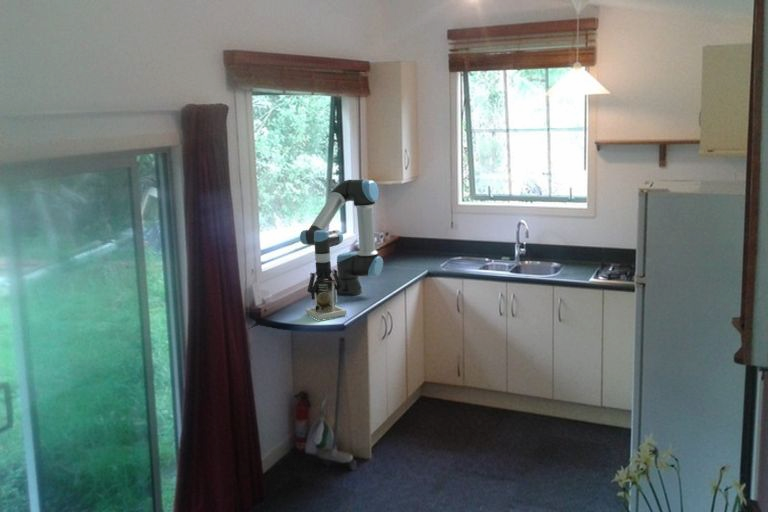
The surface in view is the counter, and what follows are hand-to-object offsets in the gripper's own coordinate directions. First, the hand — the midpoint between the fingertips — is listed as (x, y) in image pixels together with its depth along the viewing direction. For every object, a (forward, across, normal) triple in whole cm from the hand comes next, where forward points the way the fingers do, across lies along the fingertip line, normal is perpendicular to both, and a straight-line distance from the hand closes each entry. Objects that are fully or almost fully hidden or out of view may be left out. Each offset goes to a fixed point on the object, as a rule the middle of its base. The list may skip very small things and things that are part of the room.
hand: (325, 303), depth 377 cm
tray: (+6, 0, 0) cm, 6 cm away
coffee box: (+4, 0, 0) cm, 4 cm away
